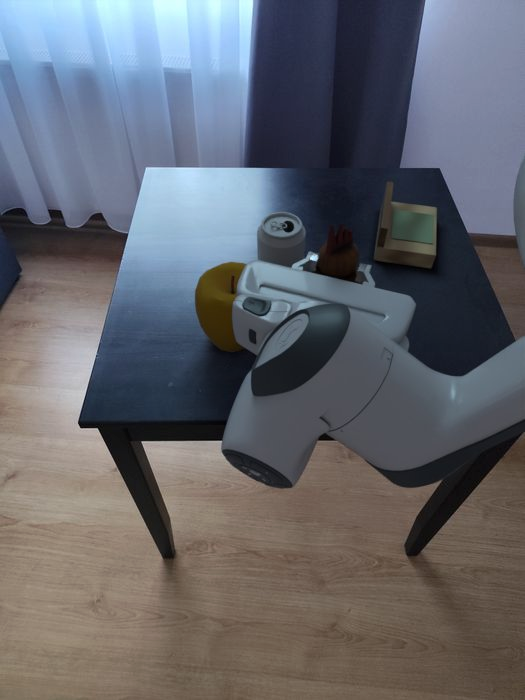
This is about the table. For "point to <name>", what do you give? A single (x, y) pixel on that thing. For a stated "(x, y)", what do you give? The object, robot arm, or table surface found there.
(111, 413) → the table surface
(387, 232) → the l-shaped display stand
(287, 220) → the can
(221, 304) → the apple
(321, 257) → the wooden figurine
